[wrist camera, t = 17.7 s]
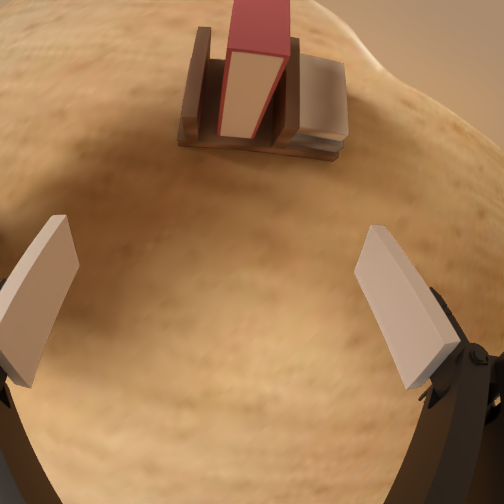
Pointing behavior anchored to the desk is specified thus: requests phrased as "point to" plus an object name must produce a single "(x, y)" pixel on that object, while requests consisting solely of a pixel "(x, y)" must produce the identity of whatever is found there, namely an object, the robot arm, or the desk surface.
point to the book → (253, 64)
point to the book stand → (271, 106)
